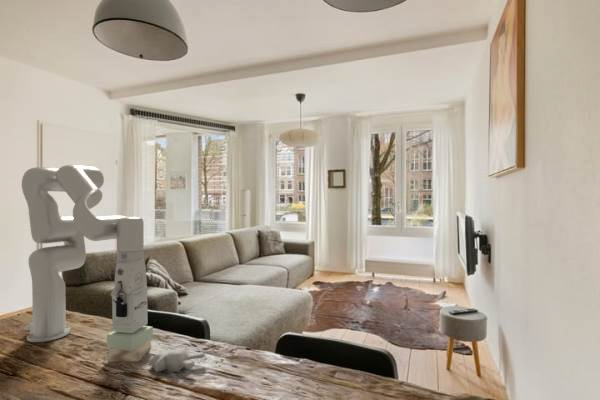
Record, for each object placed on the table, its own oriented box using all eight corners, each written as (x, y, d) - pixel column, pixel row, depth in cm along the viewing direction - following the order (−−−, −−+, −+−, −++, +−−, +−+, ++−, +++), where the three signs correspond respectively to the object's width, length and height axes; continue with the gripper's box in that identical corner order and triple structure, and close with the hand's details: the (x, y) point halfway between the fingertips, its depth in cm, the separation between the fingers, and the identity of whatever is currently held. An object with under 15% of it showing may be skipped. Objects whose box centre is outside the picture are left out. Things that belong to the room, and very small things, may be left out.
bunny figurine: (162, 344, 103) (206, 344, 99) (164, 361, 103) (208, 361, 99) (141, 359, 94) (188, 358, 90) (143, 377, 94) (190, 377, 90)
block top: (107, 347, 102) (107, 334, 102) (129, 335, 111) (129, 323, 111) (131, 351, 99) (131, 337, 99) (152, 339, 108) (152, 326, 108)
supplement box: (133, 333, 101) (132, 292, 101) (111, 331, 103) (110, 291, 102) (148, 324, 109) (148, 285, 108) (128, 322, 110) (127, 284, 109)
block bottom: (108, 362, 100) (108, 349, 100) (122, 349, 109) (122, 337, 109) (138, 362, 101) (138, 348, 101) (150, 348, 110) (150, 336, 110)
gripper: (123, 261, 96) (123, 322, 96) (156, 252, 113) (156, 303, 114) (99, 261, 97) (99, 321, 97) (136, 251, 114) (136, 303, 114)
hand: (130, 311), depth 105 cm, fingers open, 7 cm apart
